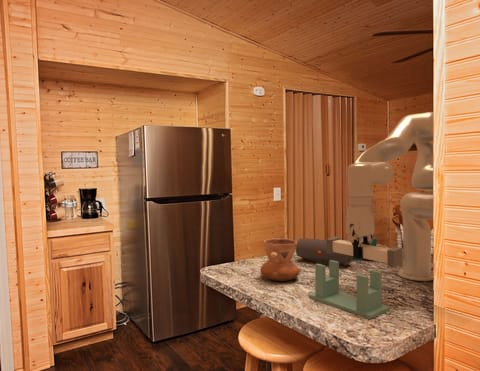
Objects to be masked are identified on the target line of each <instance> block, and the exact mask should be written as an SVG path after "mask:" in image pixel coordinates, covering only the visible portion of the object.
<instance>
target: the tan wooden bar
mask: <svg viewBox="0 0 480 371" xmlns="http://www.w3.org/2000/svg"><path fill="white" fill-rule="evenodd" d="M325 240H326V246H327V253H329V254H333V253H341V254H346V255H350V256H353V246H352V243H351V242H349V240H344V239H342V240H341V237H339V236H333V237H330V238H326V239H325ZM361 247H363V259H365V260H370V261H375V262H379V263H384V264H387V267H389V268H397V267H399V266H401V265H403V247H399V246H395V247H392V248H387V247H382V246H378V245H376V246H371V245H365V244H361Z"/></svg>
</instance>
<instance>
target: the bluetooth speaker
mask: <svg viewBox="0 0 480 371" xmlns="http://www.w3.org/2000/svg"><path fill="white" fill-rule="evenodd" d="M296 242H297V244H296V248H295V253H296V256H297V257H298V258H299V257H300V258H303V259H307V260H310V261H311V262H312V263H315V264H321V265H328V266H329V261H330V260H333V261H337V262H339V265H349V264H351V263H352V261H353V260H352V257H353V256H350V255H346V254H341V253H333V254H329V253H327V246H326V239H318V238H317V239H315V238H299V239H297V241H296Z"/></svg>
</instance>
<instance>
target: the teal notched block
mask: <svg viewBox="0 0 480 371" xmlns="http://www.w3.org/2000/svg"><path fill="white" fill-rule="evenodd" d="M348 241H349V240H348ZM377 241H378V238H377V237H374V236H372V239H371V244H370V245H371V246H377V243H378V242H377ZM349 242H350V241H349ZM361 243H362V241H361ZM353 260H354V261H360V262H362V260H363V259H358V258H354V257H352V261H353Z"/></svg>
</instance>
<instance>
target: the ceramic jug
mask: <svg viewBox="0 0 480 371" xmlns="http://www.w3.org/2000/svg"><path fill="white" fill-rule="evenodd" d="M297 242H298V241H296V240H294V239H289V238H283V237H282V238H277V237H276V238H275V237H274V238H267V239H264V240H263V246H264V250H265V253H266V254H265V255H266V257H267V258H268V260H267V261H265V262H264V263H263V264H262V265H261V267H260V274H261V275H262V276H263V277H264V278H265V279H268V280H271V281H273V282H274V281H275V282H286V281H292V280H294V279H296V278H297V277H298V276H299V273H300V268H299V267H298V265H296V264H295V263H294V262H293V261H292V259H293V256H294V254H295V252H296V246H297Z"/></svg>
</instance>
